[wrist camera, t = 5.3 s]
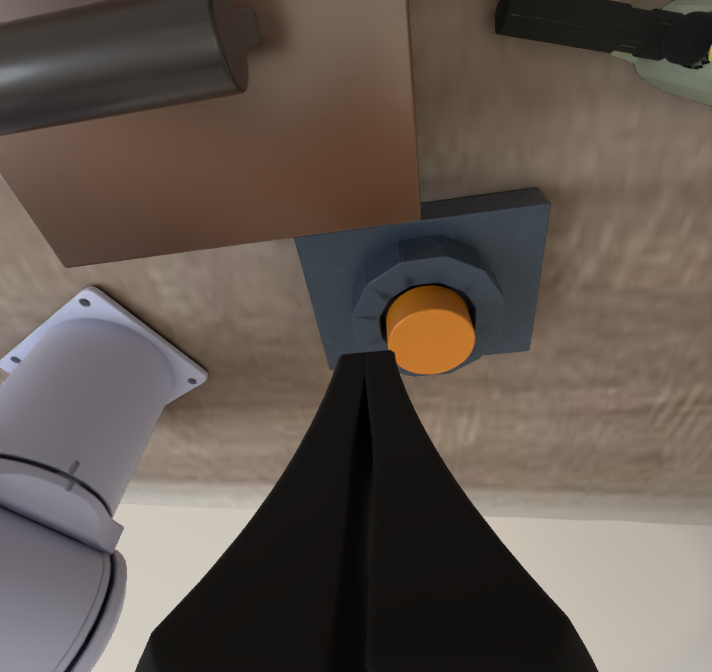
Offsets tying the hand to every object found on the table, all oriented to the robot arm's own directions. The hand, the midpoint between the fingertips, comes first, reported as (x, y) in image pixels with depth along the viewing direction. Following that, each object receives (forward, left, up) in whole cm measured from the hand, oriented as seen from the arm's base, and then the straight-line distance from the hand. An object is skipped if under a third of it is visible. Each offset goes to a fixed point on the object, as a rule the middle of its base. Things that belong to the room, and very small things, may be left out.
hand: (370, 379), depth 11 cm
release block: (0, -4, -10) cm, 11 cm away
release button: (0, -4, -7) cm, 9 cm away
